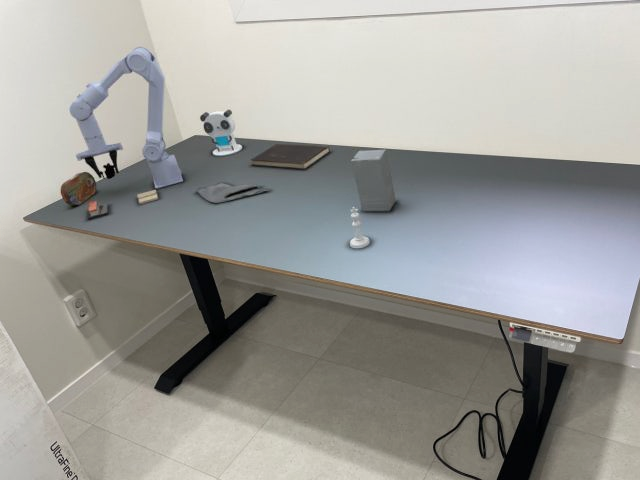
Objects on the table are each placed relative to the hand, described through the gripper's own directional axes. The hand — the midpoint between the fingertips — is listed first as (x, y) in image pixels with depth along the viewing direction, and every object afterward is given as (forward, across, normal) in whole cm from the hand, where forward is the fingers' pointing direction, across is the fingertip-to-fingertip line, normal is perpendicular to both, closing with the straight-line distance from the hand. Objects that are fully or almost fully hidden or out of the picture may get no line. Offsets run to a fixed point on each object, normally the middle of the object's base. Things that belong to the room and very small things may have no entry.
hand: (109, 174), depth 194 cm
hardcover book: (+7, -60, +15) cm, 62 cm away
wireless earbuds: (+2, -1, 0) cm, 2 cm away
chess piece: (+7, -57, +88) cm, 105 cm away
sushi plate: (+7, +6, +15) cm, 17 cm away
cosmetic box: (+7, -69, +72) cm, 100 cm away
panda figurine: (+7, -42, -14) cm, 45 cm away
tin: (+7, +11, -2) cm, 13 cm away
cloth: (+7, -34, +31) cm, 46 cm away
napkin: (+7, -10, +15) cm, 19 cm away
